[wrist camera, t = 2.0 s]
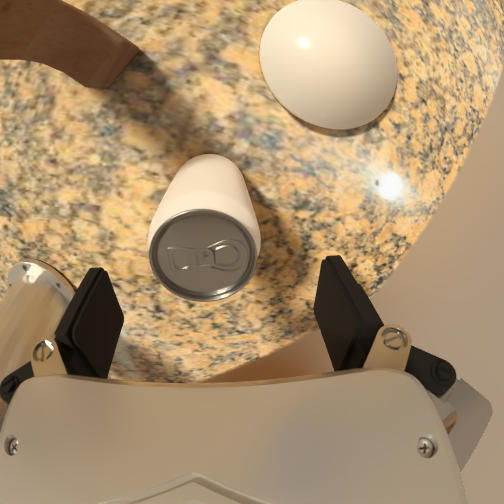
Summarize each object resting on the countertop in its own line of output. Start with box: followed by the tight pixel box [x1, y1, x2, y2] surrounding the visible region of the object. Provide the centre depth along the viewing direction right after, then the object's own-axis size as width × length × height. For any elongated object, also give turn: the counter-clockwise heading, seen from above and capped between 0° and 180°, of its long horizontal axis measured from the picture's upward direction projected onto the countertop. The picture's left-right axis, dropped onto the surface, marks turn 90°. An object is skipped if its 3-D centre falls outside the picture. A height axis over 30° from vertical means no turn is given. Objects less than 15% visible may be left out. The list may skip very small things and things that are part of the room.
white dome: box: [259, 0, 397, 130], centre depth 18 cm, size 13×13×1 cm
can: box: [148, 154, 261, 302], centre depth 19 cm, size 6×6×12 cm
